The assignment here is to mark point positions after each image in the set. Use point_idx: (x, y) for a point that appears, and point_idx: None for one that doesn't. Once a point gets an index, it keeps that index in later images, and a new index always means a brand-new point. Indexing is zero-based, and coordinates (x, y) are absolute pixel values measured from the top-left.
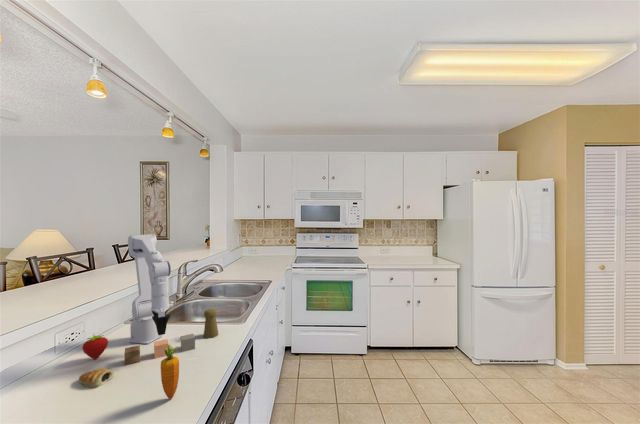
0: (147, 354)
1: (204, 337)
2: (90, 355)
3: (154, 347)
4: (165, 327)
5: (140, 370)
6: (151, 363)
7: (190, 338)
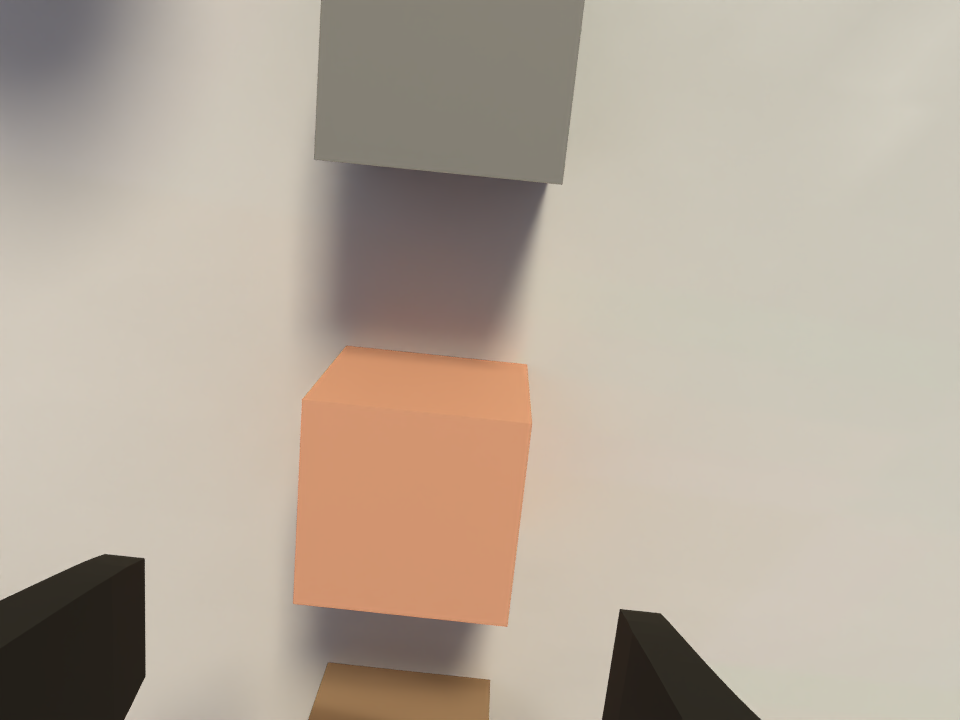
0: None
1: None
2: None
3: (506, 616)
4: (743, 717)
5: None
6: (627, 580)
7: (581, 8)
